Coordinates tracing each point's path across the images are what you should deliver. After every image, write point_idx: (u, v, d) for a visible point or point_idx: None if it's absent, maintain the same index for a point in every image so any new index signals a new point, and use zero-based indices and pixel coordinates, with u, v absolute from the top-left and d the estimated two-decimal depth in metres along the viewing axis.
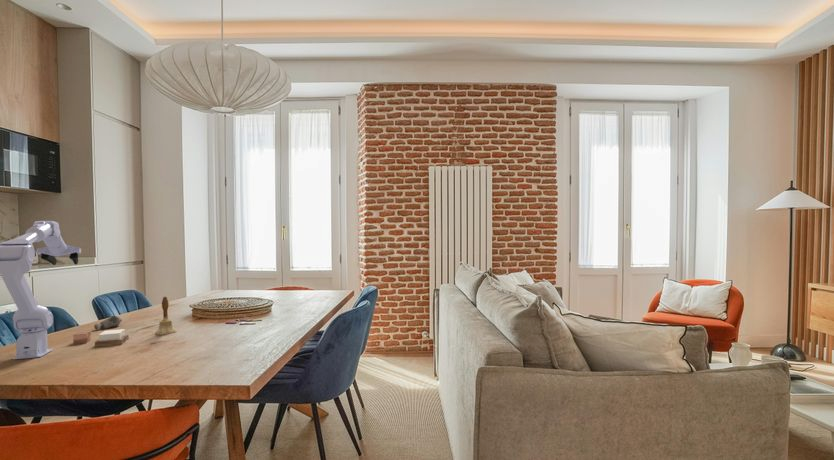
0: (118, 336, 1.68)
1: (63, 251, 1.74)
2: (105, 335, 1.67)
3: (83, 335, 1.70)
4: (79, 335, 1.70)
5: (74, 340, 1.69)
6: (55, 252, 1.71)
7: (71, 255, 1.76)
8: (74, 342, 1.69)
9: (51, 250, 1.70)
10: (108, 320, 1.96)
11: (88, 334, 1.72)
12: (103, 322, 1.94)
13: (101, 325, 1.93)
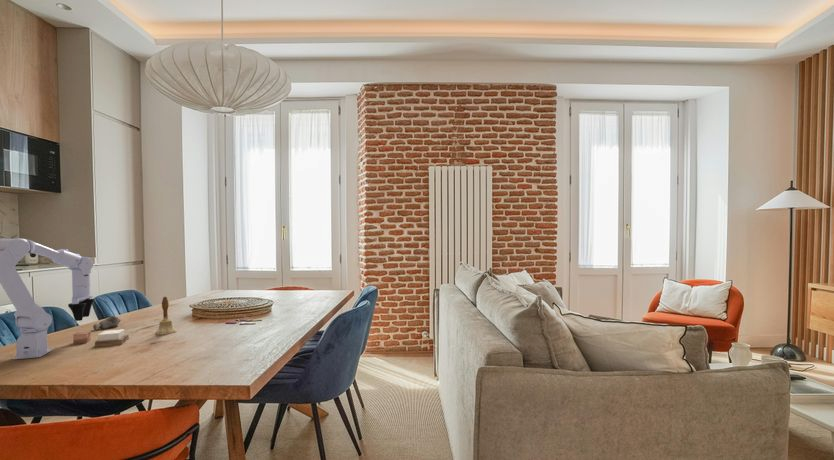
0: (117, 336, 1.68)
1: (74, 295, 1.69)
2: (104, 335, 1.66)
3: (83, 335, 1.70)
4: (79, 335, 1.70)
5: (74, 340, 1.69)
6: None
7: None
8: (74, 342, 1.69)
9: None
10: (107, 320, 1.95)
11: (88, 334, 1.72)
12: (102, 322, 1.94)
13: (100, 325, 1.93)
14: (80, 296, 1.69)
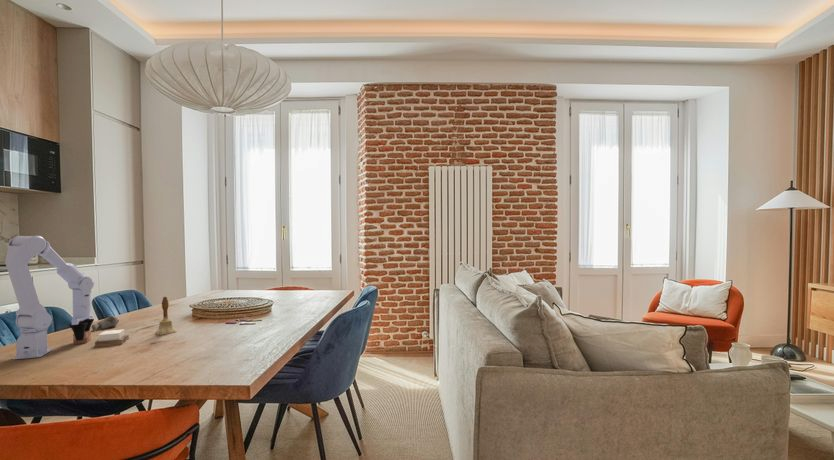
0: (118, 336, 1.68)
1: (74, 316, 1.69)
2: (105, 335, 1.66)
3: None
4: None
5: (74, 340, 1.69)
6: None
7: None
8: (74, 342, 1.69)
9: None
10: (105, 320, 1.95)
11: (88, 334, 1.72)
12: (100, 322, 1.93)
13: (98, 325, 1.92)
14: (80, 316, 1.69)
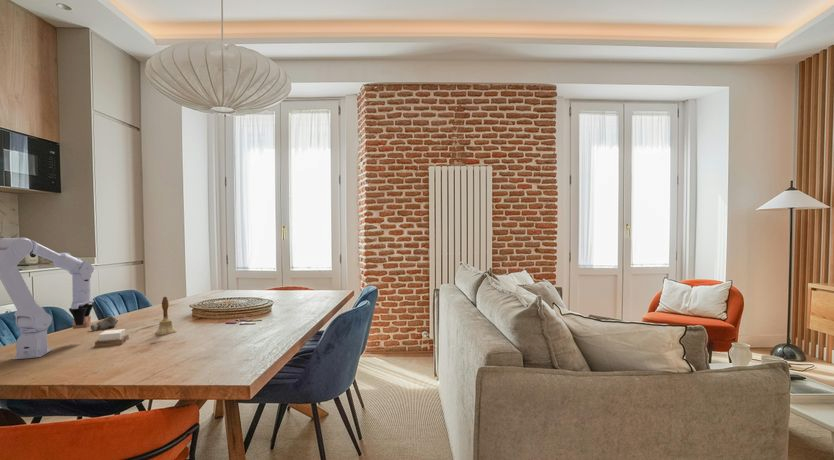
0: (118, 336, 1.68)
1: (74, 300, 1.69)
2: (105, 335, 1.67)
3: None
4: None
5: (74, 324, 1.69)
6: None
7: None
8: (74, 326, 1.69)
9: None
10: (104, 321, 1.95)
11: (88, 319, 1.72)
12: (99, 323, 1.93)
13: (97, 326, 1.92)
14: (80, 301, 1.69)
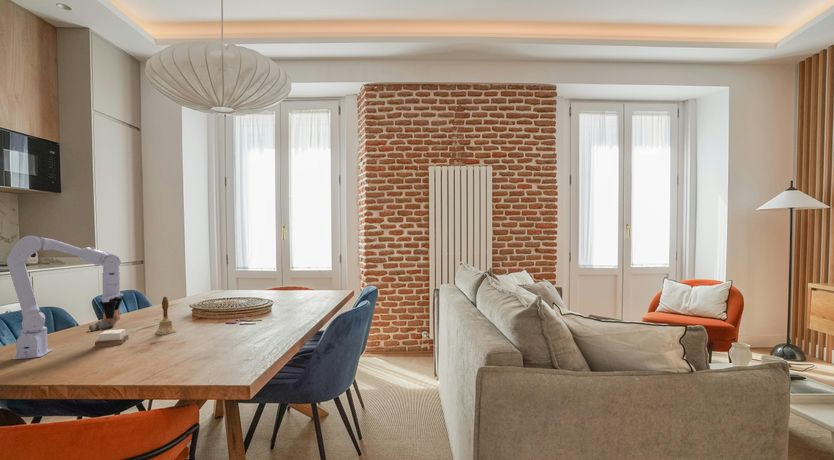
0: (118, 336, 1.68)
1: (104, 293, 1.67)
2: (105, 335, 1.67)
3: None
4: None
5: (104, 318, 1.67)
6: None
7: (103, 301, 1.66)
8: (104, 320, 1.67)
9: None
10: None
11: (118, 312, 1.71)
12: (98, 323, 1.92)
13: (96, 326, 1.91)
14: (110, 294, 1.68)
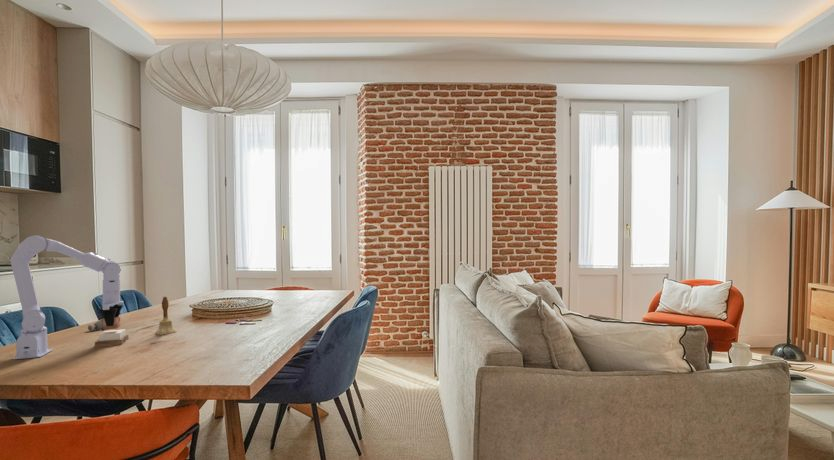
0: (118, 336, 1.68)
1: (104, 301, 1.67)
2: (106, 335, 1.67)
3: None
4: None
5: (104, 325, 1.67)
6: None
7: (103, 309, 1.66)
8: (104, 327, 1.67)
9: None
10: (102, 321, 1.94)
11: (118, 320, 1.71)
12: (97, 323, 1.92)
13: (95, 326, 1.91)
14: (110, 302, 1.68)
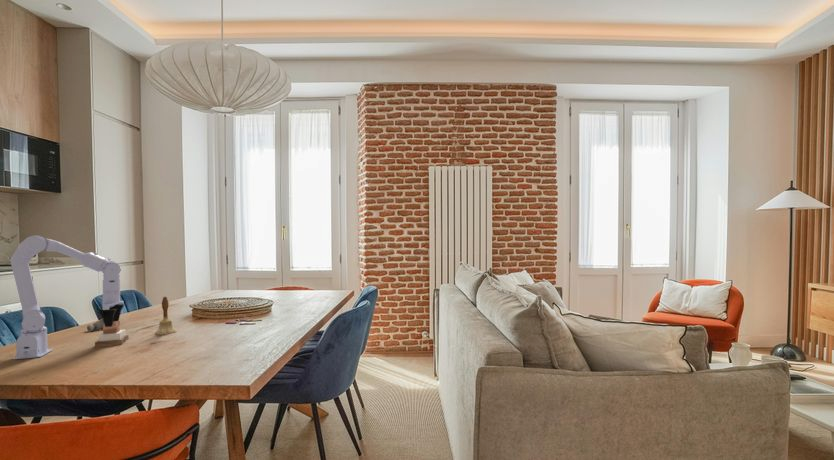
0: (118, 336, 1.68)
1: (104, 301, 1.67)
2: (105, 335, 1.67)
3: (113, 325, 1.68)
4: None
5: (104, 330, 1.67)
6: None
7: (103, 309, 1.66)
8: (104, 332, 1.67)
9: None
10: (101, 321, 1.93)
11: (117, 324, 1.70)
12: (96, 323, 1.92)
13: (94, 326, 1.91)
14: (110, 302, 1.68)
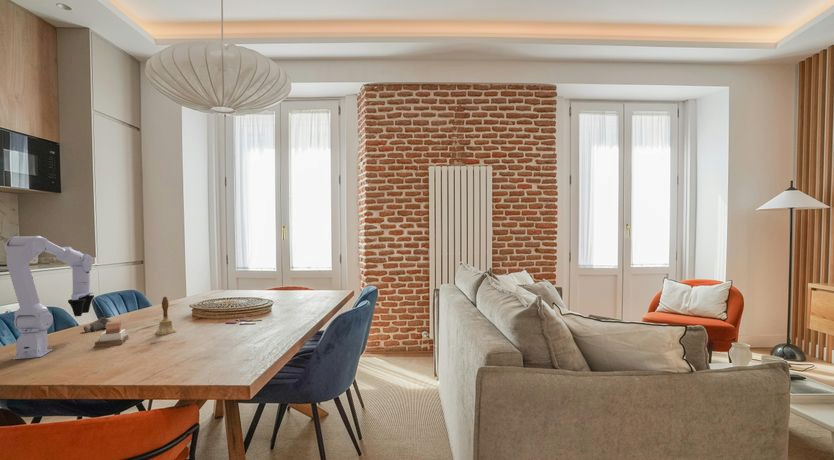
0: (120, 336, 1.69)
1: (74, 292, 1.74)
2: (106, 335, 1.67)
3: (116, 325, 1.69)
4: (112, 325, 1.68)
5: (106, 330, 1.67)
6: None
7: None
8: (106, 332, 1.67)
9: None
10: (98, 322, 1.92)
11: (120, 324, 1.71)
12: (93, 324, 1.91)
13: (91, 327, 1.90)
14: (80, 292, 1.74)
